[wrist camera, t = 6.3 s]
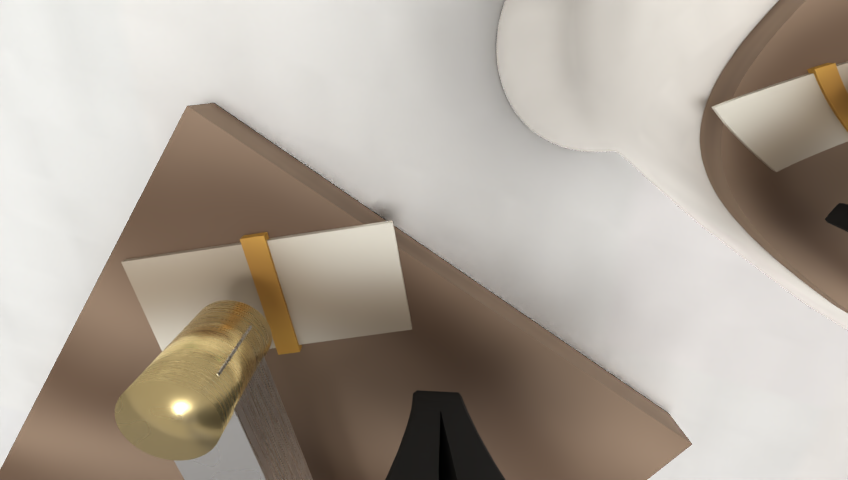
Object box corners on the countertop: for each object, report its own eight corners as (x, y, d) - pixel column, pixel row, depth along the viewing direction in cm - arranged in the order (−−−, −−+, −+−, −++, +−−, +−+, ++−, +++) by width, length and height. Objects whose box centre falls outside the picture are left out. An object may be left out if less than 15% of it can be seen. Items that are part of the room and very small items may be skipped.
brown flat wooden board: (386, 647, 22) (384, 693, 20) (3, 496, 18) (-40, 540, 16) (680, 404, 16) (710, 440, 15) (223, 85, 12) (191, 86, 10)
